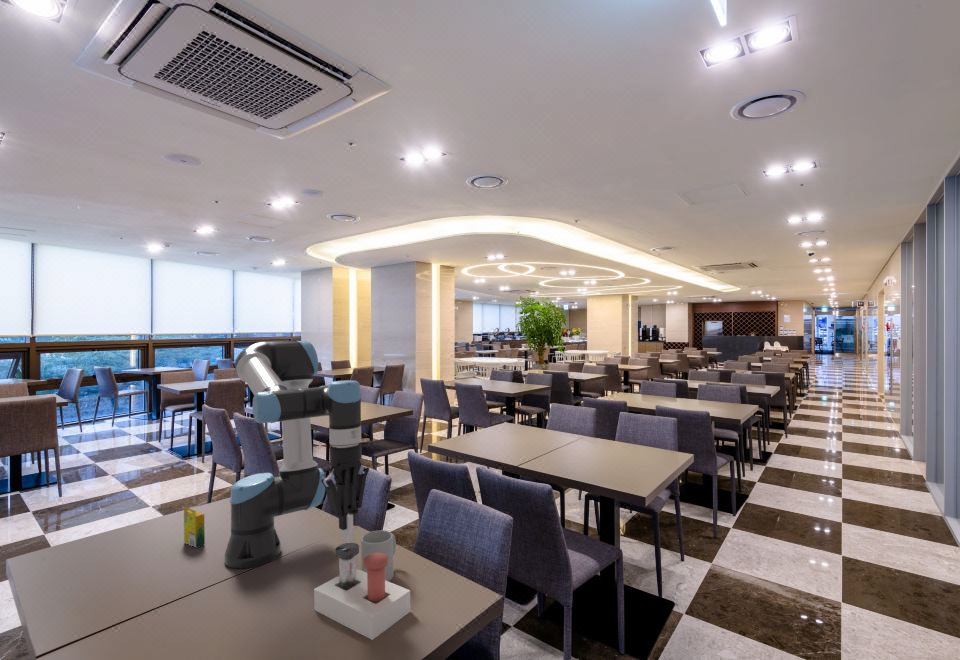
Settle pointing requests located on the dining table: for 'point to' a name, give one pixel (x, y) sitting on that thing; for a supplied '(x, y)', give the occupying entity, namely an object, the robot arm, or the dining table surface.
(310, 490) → the robot arm
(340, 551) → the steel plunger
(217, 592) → the dining table surface
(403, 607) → the white socket block
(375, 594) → the red plunger
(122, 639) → the dining table surface
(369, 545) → the mug
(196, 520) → the crayon box
